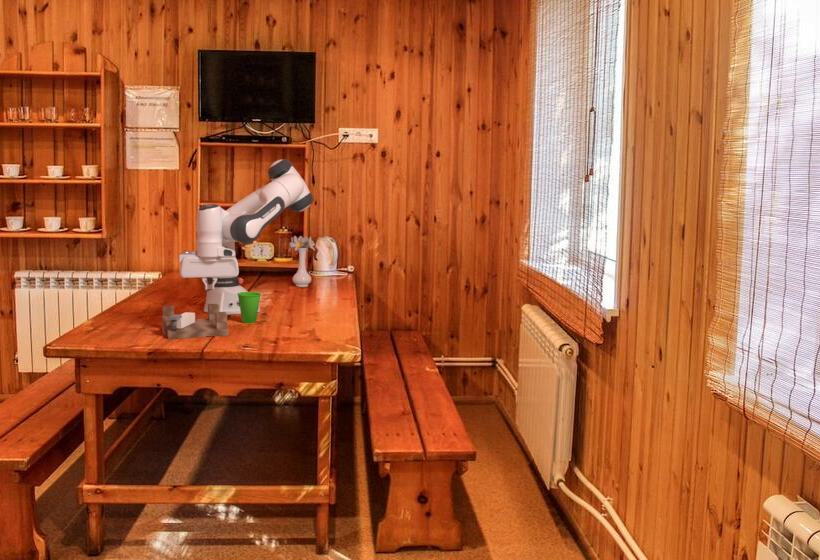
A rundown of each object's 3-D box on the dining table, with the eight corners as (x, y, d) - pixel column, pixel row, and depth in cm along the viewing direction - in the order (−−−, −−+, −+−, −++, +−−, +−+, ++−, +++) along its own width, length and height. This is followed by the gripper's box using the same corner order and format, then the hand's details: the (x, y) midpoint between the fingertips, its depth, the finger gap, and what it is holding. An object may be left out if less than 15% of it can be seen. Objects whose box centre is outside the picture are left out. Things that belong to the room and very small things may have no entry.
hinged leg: (177, 330, 271) (177, 317, 270) (167, 329, 272) (167, 316, 271) (195, 322, 286) (194, 309, 285) (185, 321, 286) (185, 309, 285)
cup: (249, 325, 297) (249, 296, 295) (231, 322, 301) (231, 293, 300) (266, 322, 304) (266, 293, 303) (248, 318, 309) (248, 290, 307)
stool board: (218, 324, 296) (218, 303, 295) (227, 335, 278) (227, 313, 277) (159, 327, 288) (159, 305, 287) (165, 339, 270) (165, 316, 269)
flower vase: (312, 283, 406) (312, 234, 402) (316, 288, 388) (317, 237, 384) (286, 283, 403) (286, 233, 399) (289, 288, 385) (289, 237, 381)
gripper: (180, 252, 273) (180, 292, 275) (239, 251, 281) (239, 290, 283) (177, 250, 279) (178, 289, 281) (236, 249, 287) (236, 287, 289)
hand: (209, 289), depth 282 cm, fingers closed
